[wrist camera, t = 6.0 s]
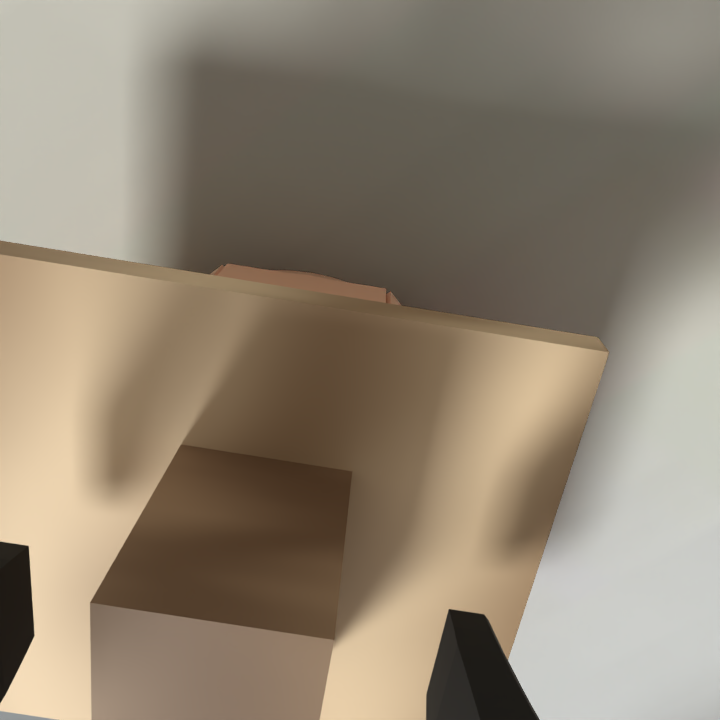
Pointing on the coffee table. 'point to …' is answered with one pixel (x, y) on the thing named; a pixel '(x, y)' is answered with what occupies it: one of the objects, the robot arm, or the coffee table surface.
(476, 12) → the coffee table surface
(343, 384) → the oak lid
